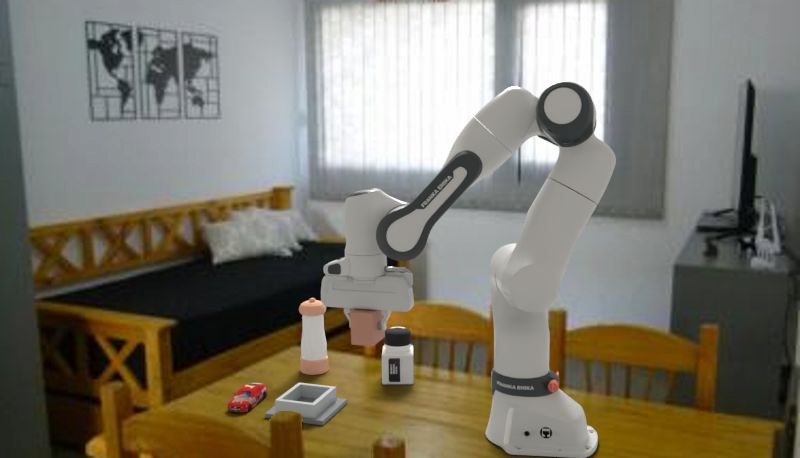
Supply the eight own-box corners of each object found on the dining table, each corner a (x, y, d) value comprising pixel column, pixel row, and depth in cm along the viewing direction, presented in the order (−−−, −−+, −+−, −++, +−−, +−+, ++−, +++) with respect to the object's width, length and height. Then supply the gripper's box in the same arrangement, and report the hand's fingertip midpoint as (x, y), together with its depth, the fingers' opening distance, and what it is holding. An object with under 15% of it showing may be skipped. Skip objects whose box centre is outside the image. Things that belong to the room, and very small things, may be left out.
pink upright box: (384, 336, 166) (384, 305, 165) (373, 346, 160) (372, 313, 158) (363, 335, 168) (362, 304, 167) (351, 344, 161) (350, 312, 160)
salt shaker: (303, 365, 202) (301, 294, 199) (331, 365, 201) (329, 294, 198) (297, 374, 195) (294, 301, 192) (325, 375, 194) (323, 301, 191)
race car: (245, 416, 169) (244, 399, 168) (223, 414, 171) (222, 397, 170) (271, 395, 182) (270, 379, 181) (250, 393, 183) (250, 377, 182)
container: (413, 384, 186) (413, 333, 184) (382, 384, 187) (381, 333, 185) (413, 373, 194) (413, 324, 192) (383, 374, 194) (382, 324, 192)
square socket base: (346, 403, 175) (346, 386, 174) (323, 425, 163) (322, 407, 162) (292, 396, 180) (291, 380, 179) (265, 417, 167) (264, 400, 167)
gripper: (417, 264, 161) (418, 328, 163) (328, 260, 167) (331, 321, 169) (407, 270, 155) (409, 336, 157) (316, 266, 161) (319, 329, 164)
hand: (368, 328), depth 163 cm, fingers closed on pink upright box, 5 cm apart
